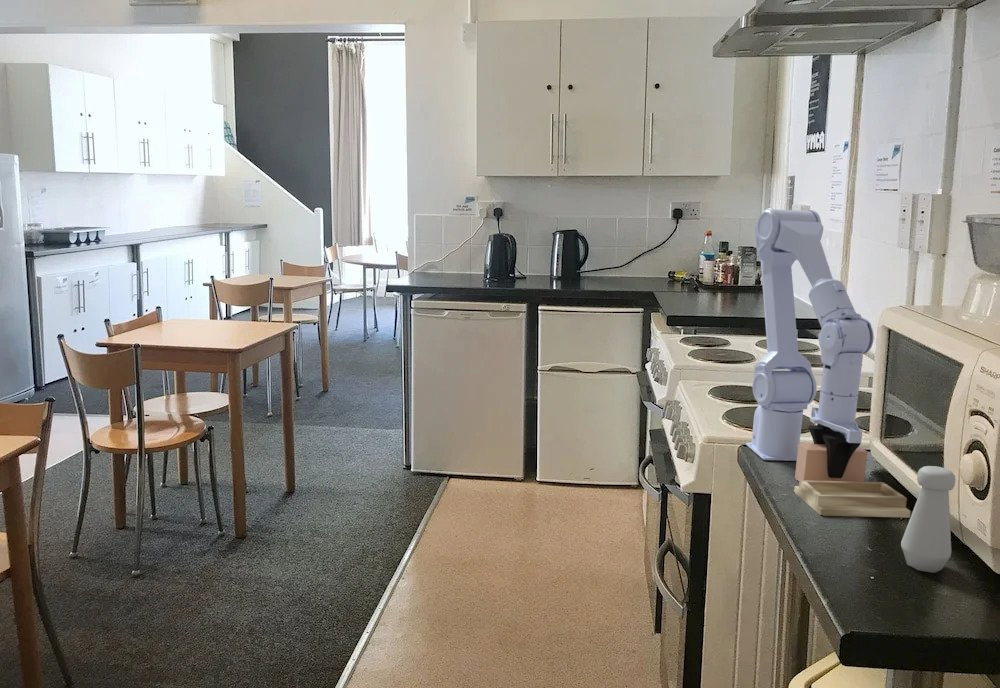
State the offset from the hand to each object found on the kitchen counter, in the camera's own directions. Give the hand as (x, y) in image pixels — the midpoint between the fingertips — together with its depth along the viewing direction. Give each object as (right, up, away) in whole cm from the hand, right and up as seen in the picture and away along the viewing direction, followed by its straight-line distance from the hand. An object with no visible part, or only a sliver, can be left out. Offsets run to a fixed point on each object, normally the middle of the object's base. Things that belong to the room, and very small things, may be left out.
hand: (829, 473), depth 144 cm
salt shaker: (0, -8, -31) cm, 32 cm away
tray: (-1, -3, -10) cm, 10 cm away
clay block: (0, -2, 0) cm, 2 cm away
